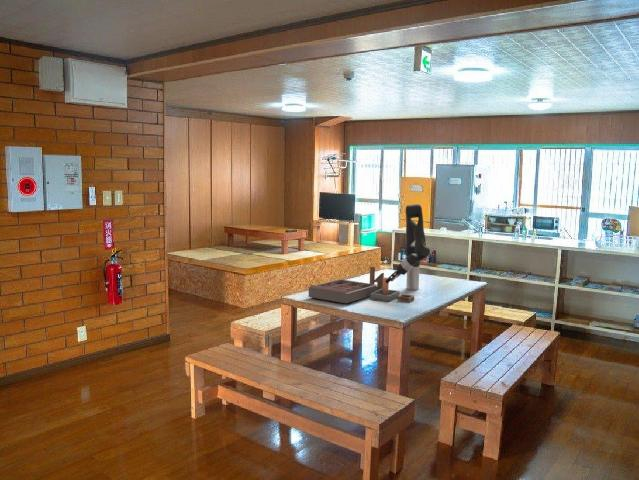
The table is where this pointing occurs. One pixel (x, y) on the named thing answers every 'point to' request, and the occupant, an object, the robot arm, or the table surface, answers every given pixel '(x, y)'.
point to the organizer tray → (341, 291)
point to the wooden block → (378, 279)
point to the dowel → (385, 287)
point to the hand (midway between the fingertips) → (388, 281)
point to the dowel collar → (406, 298)
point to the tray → (378, 295)
